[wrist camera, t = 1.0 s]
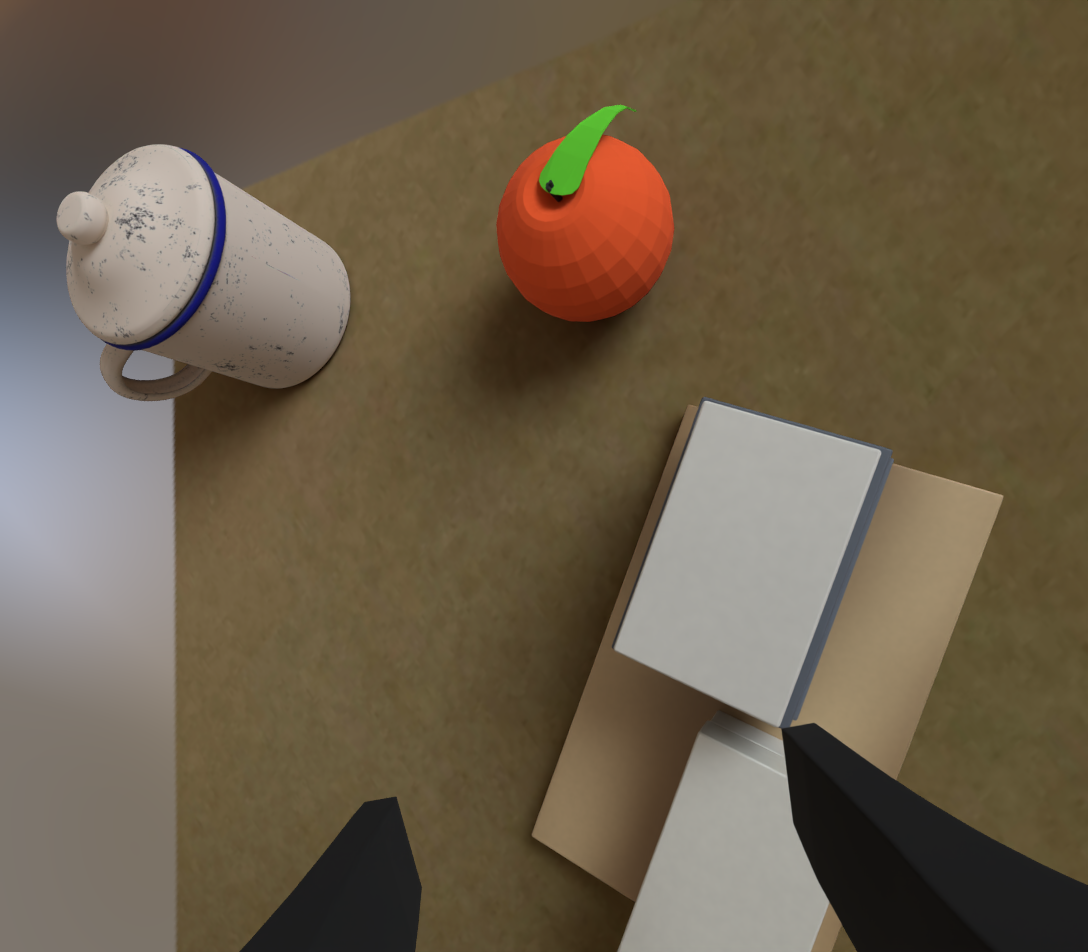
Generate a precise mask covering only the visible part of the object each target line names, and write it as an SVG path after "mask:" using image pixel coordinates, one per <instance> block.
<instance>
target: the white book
mask: <svg viewBox="0 0 1088 952" xmlns="http://www.w3.org/2000/svg"><path fill="white" fill-rule="evenodd" d="M880 456H881V451H880V450H879V449H875V448H871V447H868V446H864V445H861V444H857V443H854V442H850V441H847V440H843V439H840V438H836V437H833V436H829V435H826V434H822V433H819V432H815V431H812V430H808V429H805V428H801V427H797V426H794V425H790V424H787V423H783V422H780V421H776V420H773V419H769V418H766V417H762V416H759V415H755V414H752V413H748V412H745V411H741V410H738V409H734V408H731V407H727V406H723V405H720V404H716V403H713V402H709V401H704V402H703V404H702V406H701V409H700V412H699V415H698V417H697V420H696V423H695V426H694V428H693V431H692V434H691V437H690V439H689V442H688V445H687V448H686V450H685V453H684V456H683V459H682V461H681V464H680V467H679V470H678V472H677V475H676V478H675V481H674V483H673V486H672V489H671V491H670V494H669V497H668V500H667V502H666V505H665V508H664V511H663V513H662V516H661V519H660V522H659V524H658V527H657V530H656V533H655V535H654V538H653V541H652V544H651V546H650V549H649V552H648V555H647V557H646V560H645V563H644V566H643V568H642V571H641V574H640V577H639V579H638V582H637V585H636V588H635V590H634V593H633V596H632V599H631V601H630V604H629V607H628V610H627V612H626V615H625V618H624V621H623V623H622V626H621V629H620V631H619V634H618V637H617V640H616V642H615V645H614V650H615V651H616V652H617V653H620V654H622V655H624V656H626V657H628V658H630V659H632V660H634V661H636V662H639V663H641V664H643V665H645V666H647V667H649V668H651V669H653V670H655V671H657V672H660V673H662V674H664V675H666V676H668V677H670V678H672V679H674V680H676V681H679V682H681V683H683V684H685V685H687V686H689V687H691V688H693V689H695V690H697V691H700V692H702V693H704V694H706V695H708V696H710V697H712V698H714V699H716V700H719V701H721V702H723V703H725V704H727V705H729V706H731V707H733V708H735V709H737V710H740V711H742V712H744V713H746V714H748V715H750V716H752V717H754V718H756V719H759V720H761V721H763V722H765V723H767V724H769V725H771V726H773V727H777V728H778V727H779V726H780V725H781V722H782V719H783V716H784V714H785V711H786V708H787V706H788V703H789V700H790V698H791V695H792V692H793V690H794V687H795V684H796V682H797V679H798V676H799V674H800V671H801V668H802V665H803V663H804V660H805V657H806V655H807V652H808V649H809V647H810V644H811V641H812V639H813V636H814V633H815V631H816V628H817V625H818V623H819V620H820V617H821V615H822V612H823V609H824V606H825V604H826V601H827V598H828V596H829V593H830V590H831V588H832V585H833V582H834V580H835V577H836V574H837V572H838V569H839V566H840V564H841V561H842V558H843V555H844V553H845V550H846V547H847V545H848V542H849V539H850V537H851V534H852V531H853V529H854V526H855V523H856V521H857V518H858V515H859V513H860V510H861V507H862V505H863V502H864V499H865V496H866V494H867V491H868V488H869V486H870V483H871V480H872V478H873V475H874V472H875V470H876V467H877V464H878V462H879V459H880Z"/></svg>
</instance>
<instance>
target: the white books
mask: <svg viewBox="0 0 1088 952" xmlns="http://www.w3.org/2000/svg"><path fill="white" fill-rule="evenodd" d="M829 903H830V902H829V900H828V899H827V897H826V895H825V893H824V891H823V889H822V888H821V886H820V884H819V882H818V880H817V878H816V876H815V874H814V871H813V869H812V867H811V864H810V862H809V860H808V858H807V855H806V853H805V851H804V848H803V846H802V843H801V841H800V839H799V836H798V834H797V831H796V829H795V827H794V824H793V818H792V810H791V802H790V794H789V786H788V778H787V770H786V762H785V754H784V746H783V741H782V740H780V739H778V738H776V737H774V736H772V735H769V734H767V733H765V732H763V731H761V730H759V729H757V728H755V727H753V726H751V725H749V724H747V723H745V722H742V721H740V720H738V719H736V718H734V717H732V716H730V715H728V714H726V713H724V712H722V711H720V710H718V711H717V712H716V713H715V715H714V716H713V718H712V719H711V721H708V720H707V721H706V723H705V724H704V725H703V727H702V728H701V730H700V731H699V732H698V734H697V737H696V740H695V742H694V745H693V748H692V750H691V753H690V756H689V758H688V761H687V764H686V767H685V769H684V772H683V775H682V777H681V780H680V783H679V786H678V788H677V791H676V794H675V796H674V799H673V802H672V805H671V807H670V810H669V813H668V815H667V818H666V821H665V823H664V826H663V829H662V832H661V834H660V837H659V840H658V842H657V845H656V848H655V851H654V853H653V856H652V859H651V861H650V864H649V867H648V870H647V872H646V875H645V878H644V880H643V883H642V886H641V888H640V891H639V894H638V897H637V899H636V902H635V905H634V907H633V910H632V913H631V916H630V918H629V921H628V924H627V926H626V929H625V932H624V935H623V937H622V940H621V943H620V945H619V948H618V951H617V952H811V950H812V948H813V945H814V942H815V940H816V937H817V934H818V932H819V929H820V926H821V924H822V921H823V918H824V916H825V913H826V910H827V908H828V905H829Z"/></svg>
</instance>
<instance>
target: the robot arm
mask: <svg viewBox="0 0 1088 952" xmlns="http://www.w3.org/2000/svg"><path fill="white" fill-rule="evenodd" d="M781 730H782V738H783V746H784V754H785V762H786V770H787V778H788V786H789V794H790V802H791V810H792V818H793V824H794V827H795V829H796V831H797V834H798V836H799V839H800V841H801V843H802V846H803V848H804V851H805V853H806V855H807V858H808V860H809V862H810V864H811V867H812V869H813V871H814V874H815V876H816V878H817V880H818V882H819V884H820V886H821V888H822V889H823V891H824V893H825V895H826V897H827V899H828V900H829V902H830V904H831V906H832V908H833V909H834V911H835V913H836V915H837V916H838V918H839V920H840V922H841V924H842V925H843V927H844V929H845V931H846V933H847V934H848V936H849V938H850V940H851V941H852V943H853V945H854V947H855V948H856V950H857V952H1088V885H1086V884H1084V883H1081V882H1079V881H1077V880H1075V879H1072V878H1070V877H1068V876H1066V875H1063V874H1061V873H1059V872H1057V871H1055V870H1053V869H1051V868H1049V867H1047V866H1044V865H1042V864H1040V863H1038V862H1036V861H1034V860H1032V859H1030V858H1028V857H1026V856H1025V855H1023V854H1021V853H1019V852H1017V851H1015V850H1013V849H1011V848H1009V847H1007V846H1005V845H1003V844H1001V843H999V842H997V841H995V840H993V839H992V838H990V837H988V836H986V835H984V834H983V833H981V832H979V831H977V830H975V829H974V828H972V827H970V826H968V825H967V824H965V823H963V822H962V821H960V820H958V819H957V818H955V817H953V816H952V815H950V814H948V813H947V812H945V811H943V810H942V809H940V808H938V807H937V806H935V805H933V804H932V803H930V802H928V801H927V800H925V799H924V798H922V797H921V796H919V795H917V794H916V793H914V792H913V791H911V790H910V789H908V788H907V787H905V786H904V785H902V784H901V783H899V782H898V781H896V780H895V779H893V778H892V777H890V776H889V775H887V774H886V773H884V772H883V771H882V770H880V769H879V768H877V767H876V766H874V765H873V764H872V763H870V762H869V761H867V760H866V759H865V758H863V757H862V756H860V755H859V754H858V753H856V752H855V751H853V750H852V749H851V748H849V747H848V746H846V745H845V744H844V743H842V742H841V741H840V740H838V739H837V738H835V737H834V736H833V735H831V734H830V733H828V732H827V731H826V730H824V729H823V728H821V727H820V726H819V725H817V724H816V723H810V724H804V725H798V726H793V727H787V728H781ZM421 889H422V887H421V883H420V880H419V876H418V873H417V869H416V865H415V862H414V858H413V855H412V851H411V847H410V844H409V840H408V837H407V833H406V830H405V826H404V822H403V819H402V815H401V812H400V808H399V804H398V801H397V797H391V798H385V799H380V800H374V801H368V802H364V803H363V805H362V806H361V807H360V808H359V809H358V810H357V812H356V813H355V814H354V815H353V817H352V818H351V819H350V820H349V822H348V823H347V824H346V825H345V827H344V828H343V829H342V831H341V832H340V833H339V834H338V836H337V837H336V838H335V839H334V841H333V842H332V843H331V845H330V846H329V847H328V848H327V850H326V851H325V852H324V853H323V855H322V856H321V857H320V858H319V860H318V861H317V862H316V863H315V865H314V866H313V867H312V868H311V870H310V871H309V872H308V873H307V874H306V876H305V877H304V878H303V879H302V881H301V882H300V883H299V884H298V886H297V887H296V888H295V889H294V890H293V892H292V893H291V894H290V895H289V896H288V898H287V899H286V900H285V901H284V902H283V903H282V904H281V905H280V907H279V908H278V909H277V910H276V911H275V912H274V913H273V915H272V916H271V917H270V918H269V919H268V920H267V921H266V923H265V924H264V925H263V926H262V927H261V928H260V929H259V931H258V932H257V933H256V934H255V935H254V936H253V937H252V939H251V940H250V941H249V942H248V943H247V944H246V945H245V946H244V947H243V948H242V949H241V951H240V952H415V948H416V939H417V931H418V922H419V911H420V900H421Z"/></svg>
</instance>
